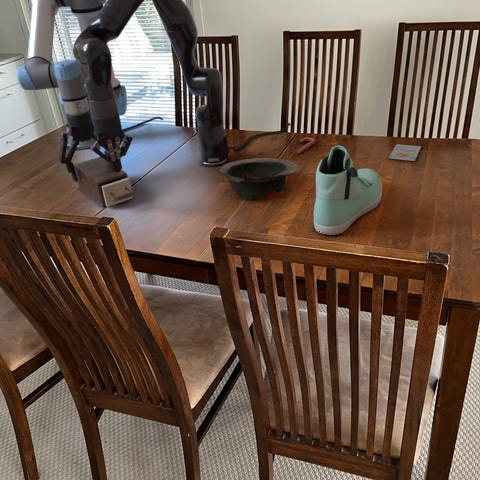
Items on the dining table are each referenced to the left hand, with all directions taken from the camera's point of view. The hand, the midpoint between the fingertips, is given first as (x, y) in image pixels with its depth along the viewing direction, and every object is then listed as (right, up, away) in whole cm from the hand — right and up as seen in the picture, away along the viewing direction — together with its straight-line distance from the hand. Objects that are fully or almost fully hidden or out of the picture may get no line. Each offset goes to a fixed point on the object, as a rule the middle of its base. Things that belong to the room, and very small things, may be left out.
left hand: (93, 175), depth 163 cm
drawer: (+8, -8, -8) cm, 14 cm away
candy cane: (+74, +13, +20) cm, 78 cm away
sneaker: (+81, -13, -24) cm, 86 cm away
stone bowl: (+56, -5, -8) cm, 57 cm away
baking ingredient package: (+109, +9, +8) cm, 110 cm away
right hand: (+13, -2, -21) cm, 25 cm away
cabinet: (+5, -6, -3) cm, 8 cm away
